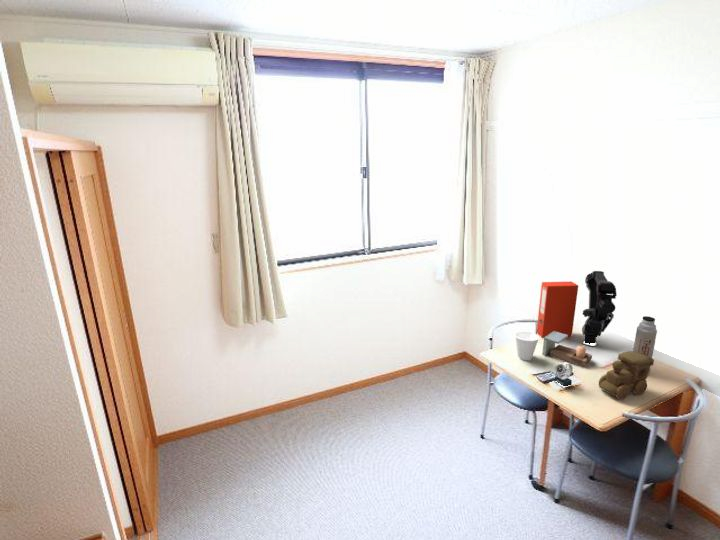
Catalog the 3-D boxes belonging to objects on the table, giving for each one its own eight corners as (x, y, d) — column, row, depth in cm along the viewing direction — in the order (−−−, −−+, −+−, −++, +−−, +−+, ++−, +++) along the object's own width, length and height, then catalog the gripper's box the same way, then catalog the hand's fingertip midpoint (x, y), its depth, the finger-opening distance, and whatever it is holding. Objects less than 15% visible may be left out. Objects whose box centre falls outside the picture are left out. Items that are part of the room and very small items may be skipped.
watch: (551, 383, 195) (553, 362, 192) (564, 379, 197) (567, 359, 194) (560, 389, 190) (563, 367, 187) (574, 385, 192) (576, 364, 189)
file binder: (571, 337, 241) (578, 285, 232) (542, 338, 241) (547, 286, 232) (565, 331, 249) (571, 281, 240) (536, 332, 249) (541, 281, 240)
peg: (577, 359, 216) (578, 345, 214) (585, 361, 214) (587, 347, 211) (574, 361, 214) (575, 347, 212) (582, 364, 211) (584, 350, 209)
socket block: (558, 350, 226) (558, 344, 225) (591, 360, 214) (592, 354, 213) (550, 356, 220) (550, 350, 219) (583, 367, 208) (584, 361, 207)
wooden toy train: (627, 380, 195) (632, 348, 191) (650, 393, 185) (656, 359, 180) (594, 389, 189) (599, 356, 185) (616, 402, 179) (622, 368, 174)
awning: (551, 347, 230) (553, 331, 227) (565, 351, 224) (567, 335, 222) (542, 354, 222) (544, 337, 219) (556, 359, 216) (558, 342, 214)
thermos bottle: (647, 376, 198) (657, 322, 191) (628, 371, 204) (637, 318, 196) (650, 370, 204) (660, 317, 196) (631, 365, 209) (640, 313, 202)
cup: (530, 351, 226) (532, 330, 222) (540, 362, 214) (543, 340, 211) (509, 352, 225) (511, 331, 222) (518, 363, 214) (520, 341, 211)
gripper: (592, 298, 222) (589, 324, 226) (579, 307, 210) (575, 335, 214) (616, 303, 214) (611, 330, 218) (603, 312, 202) (598, 341, 206)
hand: (598, 334), depth 214 cm, fingers open, 9 cm apart
